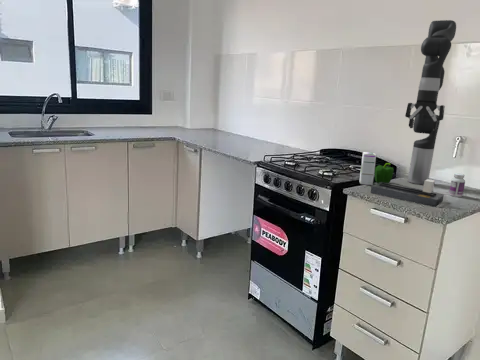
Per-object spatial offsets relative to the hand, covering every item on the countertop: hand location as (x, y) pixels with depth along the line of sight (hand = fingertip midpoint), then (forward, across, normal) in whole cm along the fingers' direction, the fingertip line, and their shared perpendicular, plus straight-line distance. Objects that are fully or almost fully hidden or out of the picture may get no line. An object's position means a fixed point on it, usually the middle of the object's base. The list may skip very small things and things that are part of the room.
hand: (421, 129), depth 163 cm
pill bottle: (+28, -15, -14) cm, 35 cm away
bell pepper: (+28, +16, -10) cm, 34 cm away
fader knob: (+25, -8, +7) cm, 27 cm away
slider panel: (+28, 0, +7) cm, 29 cm away
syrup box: (+28, +21, -2) cm, 35 cm away
